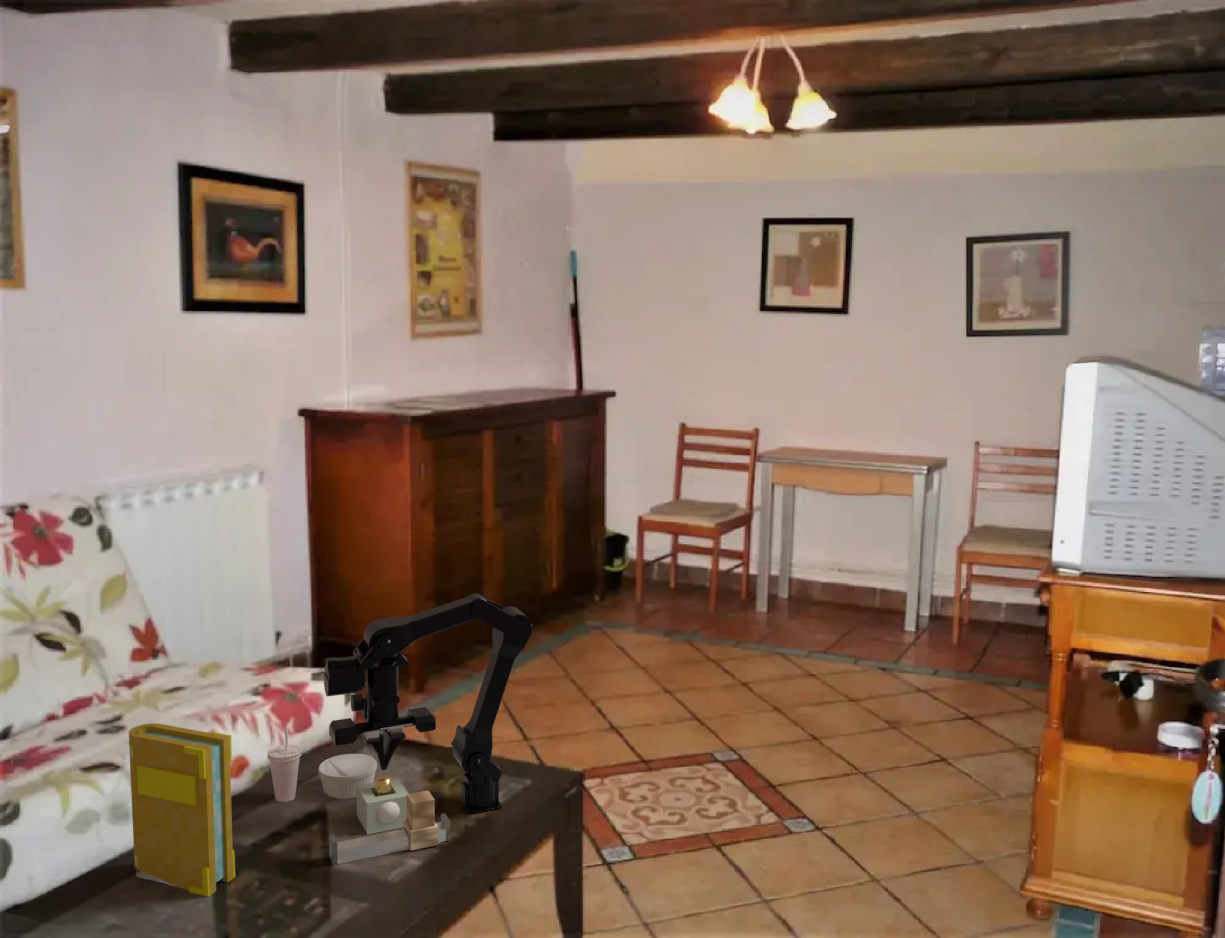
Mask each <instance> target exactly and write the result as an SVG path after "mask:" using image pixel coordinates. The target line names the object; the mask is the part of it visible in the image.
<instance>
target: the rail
mask: <svg viewBox="0 0 1225 938" xmlns="http://www.w3.org/2000/svg"><path fill="white" fill-rule="evenodd" d="M435 823H436V824H437V825H438V845H439V844H442V843H441V842H444V841H449V840H450V841H451V819H450V817H448V816H447V814H446V813H445V812H444V813H441V814H440V821H439V822H435ZM450 841H449V842H450ZM444 843H445V842H444ZM409 850H410V835H409V833H408V832H407V830H406V829H403V828H401V829H396V830H392V831H389V832H388V831H386V832H382V833H377V834H372V835H371V834H370V835H367V836H362V837H357V838H353V839H347V840H342V841H341V840H340V841H337V839H336V836H335V835H334V834H331V835H328V853H329V854H328V855H329V859H330V861H331V864H332V866H337V865H340V864H341V865H342V864H345V863H352V862H355V861H360V860H366V859H370V858H375V857H380V856H383V855H390V854H393V853H400V852H404V851H409ZM410 851H411V850H410Z"/></svg>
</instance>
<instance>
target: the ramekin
mask: <svg viewBox="0 0 1225 938" xmlns="http://www.w3.org/2000/svg"><path fill="white" fill-rule="evenodd" d="M377 768H378V761H377V760H376V759H375V758H374V757H372V756H369V755H367V754H362V753H346V754H345V753H344V754H339V755H335V756H331V757H329V758H328V759H325V760H324V761H322V762H321V763H320V764H319V766H318V774H319V776H320V781H321V785H322V789H323V792H324V793H325V794H326V795H327V796H328V797H330V798H332V799H333V798H334V799H338V800H352V799H354V798H356V799H357V786H358V785H364V784H369V783H375V777H376V775H375V774H376V771H377Z"/></svg>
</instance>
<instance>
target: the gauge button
mask: <svg viewBox="0 0 1225 938" xmlns="http://www.w3.org/2000/svg"><path fill="white" fill-rule="evenodd" d="M391 780H392V776H391V775H390V774H379V775H377V776H376V775H375V777H374V783H375V797H378V796H383V795H389V794H391Z"/></svg>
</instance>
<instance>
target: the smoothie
mask: <svg viewBox="0 0 1225 938" xmlns="http://www.w3.org/2000/svg"><path fill="white" fill-rule="evenodd" d="M284 740H285V741H284V742H285V743H284V744H280V745H276V746H274V747H272V748H269V749H268V751H267V759H268V761H269V767H270V772H271V773H270V774H271V779H272V784H273V790H274V791H273V792H274V799H275V801H277V802H278V803H287V802H292V801H293V800H295V798H296V793H297V782H298V775H299V768H300V766H299V765H300V757H301V756H302V748H301V747H300V746H298V745H295V744H289V729H288V728H287V729H285V730H284Z"/></svg>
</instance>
